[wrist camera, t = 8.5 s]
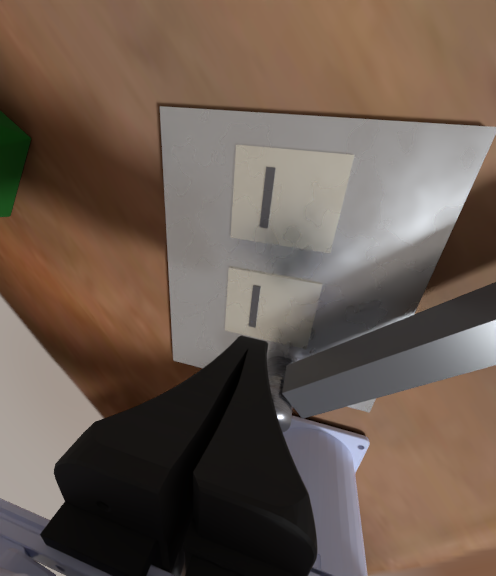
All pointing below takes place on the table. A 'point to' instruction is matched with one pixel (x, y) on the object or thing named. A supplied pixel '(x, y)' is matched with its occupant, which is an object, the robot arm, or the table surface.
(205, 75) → the table surface
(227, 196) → the tray base
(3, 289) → the table surface
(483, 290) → the swing arm
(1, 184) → the milk carton
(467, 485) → the table surface
